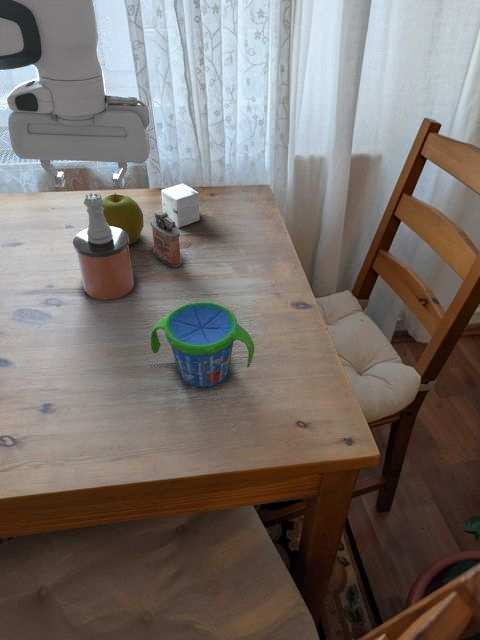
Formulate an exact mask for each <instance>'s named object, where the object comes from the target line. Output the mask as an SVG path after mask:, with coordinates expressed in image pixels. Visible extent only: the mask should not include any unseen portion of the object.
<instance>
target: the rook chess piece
mask: <svg viewBox="0 0 480 640" xmlns="http://www.w3.org/2000/svg"><path fill="white" fill-rule="evenodd" d="M102 198H103V197H102V195H101V194H100V193H98V192H94V193H92V192H89V193H87V194H85V195H84V200H83V203H82V204H84V206H86V208H87V209H86V212H87V214H88V226H87V233H86V234H87V239H88V241H89V242H90V243H92V244H95V245H103V244H107V243H109V242H110V241H111V240H112V238H113V234H112V229H111V228H110V226H109V225H108V224H107V223H106V220H105V217H104V214H103V211H104V208H103V207H102V204H103V202H104V200H103V199H102Z"/></svg>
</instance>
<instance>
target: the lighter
mask: <svg viewBox="0 0 480 640" xmlns="http://www.w3.org/2000/svg"><path fill="white" fill-rule="evenodd" d="M149 223H150V227H151V231H152V240H153V253H154V254H155V256H156V257H157V258H158V259H159V260H161V261H162V262H163V263H164V264H167V265H169V266H170V267H179V266H180V265H181V264H182V263H183V261H182V259H181V246H180V237H181V233H180V230H179V229H178V227H176V225H175V221H174V220H172V219H171V218H169V216H168V214H167V213H166V212H165V213H163V211H161V210H155V211H154V218H152V219H150V221H149Z"/></svg>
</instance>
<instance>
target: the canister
mask: <svg viewBox="0 0 480 640" xmlns="http://www.w3.org/2000/svg"><path fill="white" fill-rule="evenodd" d="M110 228H111V229H112V234H113V238H112V240H111V241H110V242H109V243H107V244H103V245H95V244H92V243H90V242H89V241H88V239H87V234H86V233H87V229H88V228H87V229H84V230H81V231H80V232H78V233H77V234H76V235H75V236H74V237H73V238H72V245H73V249H74V251H75V254H76V259H77V263H78V268H79V271H80V276H81V280H82V284H83V289H84V292H85V293H86V294H87V296H89V297H91V298H93V299H97V300H114V299H118V298H121V297H123V296H125V295H127V294H129V293H130V292H131V291H132V290H133V288H134V286H135V282H134V281H135V280H134V273H133V268H132V260H131V253H130V247H129V245H130V244H129V238H128V235H127V233H126V232H125V231H123V230H121V229H119V228H116V227H110ZM128 244H129V245H128Z"/></svg>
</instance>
